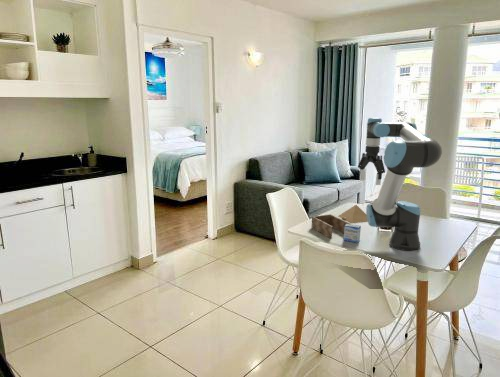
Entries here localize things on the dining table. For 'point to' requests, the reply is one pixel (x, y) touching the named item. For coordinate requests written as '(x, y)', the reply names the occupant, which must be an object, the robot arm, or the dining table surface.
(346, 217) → the model pyramid
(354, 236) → the medicine box
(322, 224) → the open wooden shelf
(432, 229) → the dining table surface
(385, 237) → the dining table surface
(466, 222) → the dining table surface
